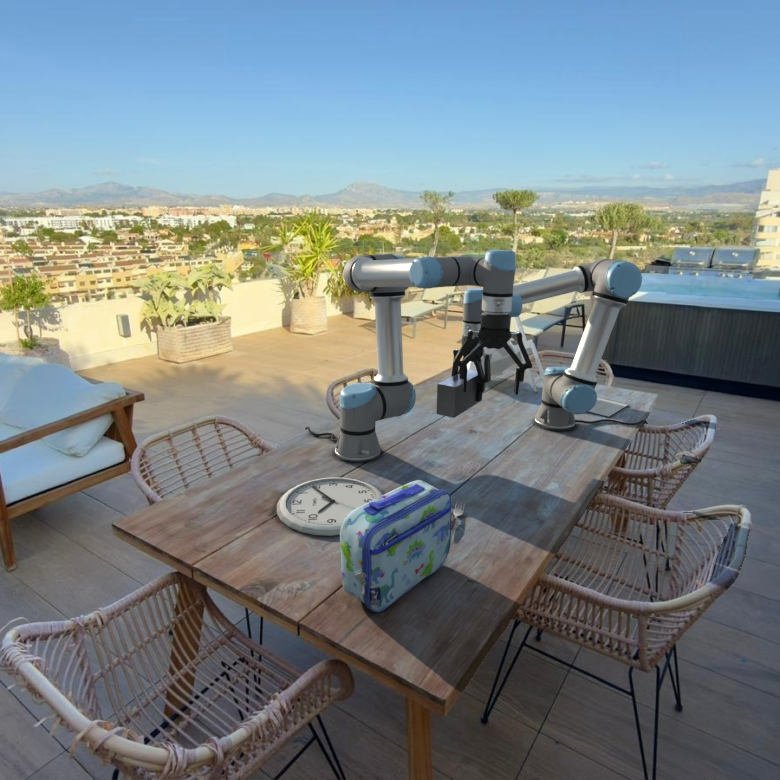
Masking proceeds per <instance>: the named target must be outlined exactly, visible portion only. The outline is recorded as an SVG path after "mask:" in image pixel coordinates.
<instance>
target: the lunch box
mask: <svg viewBox="0 0 780 780" xmlns="http://www.w3.org/2000/svg"><path fill="white" fill-rule="evenodd" d="M383 494H384V495H382V496H380V497H378V498H376V499H374V500H372V501H370V502H368V503H366V504H364V505H362V506H360V507H358V508H356V509H354V510H353V511H351V512H350V513H349V514H348V515H347V516H346V518H345V519H344V521H343V523H342V526H341V530H340V535H339V551H340V574H341V576H340V577H341V585H342V588H343V589H342V590H343V591H344V593H346V594H348V595H350V596H352V597H353V598H355V599H357V600H358V601H359V602H361V603H362V604H364V605H365V606H366V608H367V609H369V610H370V611H371V612H374V613H381V612H384V611H385V610H386V609H387V608H389V607H390V606H391V605H392V604H393V603H395V602H396V601H397V600H399V599H400V598H401V597H402V596H404V595H405V594H407V593H408V592H410V591H411V590H412V589H413V588H415V587H416V586H417V585H418V584H419V583H420V582H421V581H423V580H425V579H426V578H427V577H429V576H430V575H432V574H434V573H435V572H436V571H438V570H439V569H440V568H441V567H442V566H443V565H444V563H445V562H446V560H447V558H448V556H449V553H450V550H451V549H450V548H451V545H452V543H451V542H452V530H451V522H452V497H451V494H450V492H449V491H448V490H446V489H438V488H437V487H435V486H434V485H431V484H429V483H427V482H426V481H424V480H421V479H416V480H413V481H410V482H408V483H405V484H403V485H401V486H399V487H397V488H394V489H393V490H390V491H388V492H387V493H383Z"/></svg>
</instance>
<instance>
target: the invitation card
mask: <svg viewBox="0 0 780 780" xmlns="http://www.w3.org/2000/svg"><path fill="white" fill-rule="evenodd" d="M628 406H629V404H627V403H623V402H618V401H614V400H609V399H605V398H601V397H597V401H596V404H595V405H594V407H593V408H592V409H591V410H590V411H588V412H587V413H593V414H596V415H600V416H604V417H608V418H609V417H611V416H613V415H614V414H616V413H617V412H619V411H621V410H623V409H624V408H626V407H628Z"/></svg>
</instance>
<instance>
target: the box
mask: <svg viewBox="0 0 780 780" xmlns="http://www.w3.org/2000/svg"><path fill="white" fill-rule="evenodd" d="M463 382H464V379H460V373H458V374H456V375H454V376H452V375H451V376H450V377H449V378H446V379H444V380H442V381H440V382H439V383H437V387H436V389H437V390H436V415H439V416H443V417H448V418H453V419H455V418H457V417H458V416H460V415H461V414H463V413H464V412H466V411H467V410H470V409H471V408H472V407H474V406H476V405H477V404H478V403H481V402H482V401H483V399H482V400H481V401H479V402H477V388H478V383H480V381H479V377H478V374H477V371H473V370H467V385H466V392H463Z"/></svg>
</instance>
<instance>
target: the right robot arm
mask: <svg viewBox="0 0 780 780" xmlns="http://www.w3.org/2000/svg"><path fill="white" fill-rule="evenodd" d="M642 282H643V275H642V272H641V270H640V268H639V267H638V266H637V265H636V264H634V263H633V262H631V261H627V260H623V259H612V258H602V259H598V260H594V261H591V262H587V263H585V264H581V265H577V266H574V268H573V269H572V270H568V271H565V272H561V273H557V274H553V275H549V276H545V277H541V278H536V279H532V280H529V281H524V282H520V283H516V284H514V286H513V298H512V311H511V312H509V314H510V315H511V318H515V317H518V316H519V317H520V315H521V314H522V311H523V305H526V304H530V303H534V302H539V301H542V300H546V299H550V298H554V297H558V296H559V297H560V296H562V295H567V294H571V293H574V292H577V293H579V294H582V293H586V292H592V294H591V298H592V299H593V304H592V307H591V310H590V312H589V316H588V318H587V321H586V325H585V326H584V329H583V333H582V335H581V338H580V341H579V343H578V347H577V349H576V351H575V355H574V357H573V360H572V363H571V365H570V366H548V367H546V368H545V370H544V381H543V382H542V394H541V402H540V405H539V407H538V410H537V411H536V413H535V416H534V424H535V425H536V426H537V427H539V428H542V429H544V430H549V431H556V432H567V431H572V430H574V429H575V428H576V423H580V424H581V423H582V424H588V425H589V424H591V425H593V424H597V423H602V422H603V423H604V422H608V423H609V422H610V423H616V424H621V425H625V426H638V425H641V424H642V423H644V424H645V425H648V424H649V423H648V421H647V420H645V419H642V420H640V421H637V422H627V421H621V420H616V419H608V418H605V419H603V418H602V419H597V420H593V421H591V420H590V421H588V420H582V419H576V418H575V417H576V416H575V415H578V416H579V415H583V414H586V413H589V412H588V411H590V410H591V409H592V408H593V407H594V405H595V404H596V401H597V398H598V394H597V391H596V387H597V384H598V382H599V380H598V378H597V376H596V374H597V371H598V368H599V366H600V364H601V361H602V358H603V355H604V353H605V350H606V347H607V344H608V342H609V339H610V336H611V333H612V331H613V330H614V326H615V323H616V321H617V318H618V315H619V313H620V310H621V309H622V308H624V307H626V306H627V305H628V303H629V300H630V298H631V297H633V296H634V295H636V294H637V293H638V292H639V290H640V289H641V287H642V284H643V283H642ZM482 297H483V288H482V287H479V288H478V287H474V288H473V287H472V288H471V287H470V288H467V289H465V290H464V292H463V301H462V304H463V305H462V327H461V333H462V335H461V346H462V345H463V343H464V342H465V340H466V338H467V334H468V330H470V329H471V330H472V331H478V332H479V330H480V326H481V314H482V313H483V312H484V311H482ZM480 341H481V340H480V338H479V337H478V336H476V337H475V339H472V340H471V343H470V344H469V346H468V348H467V349H466V351H465V353H464V355H463V356H462V358H461V361H462V360H463V359H464V358H465V357H466V356H467V355H468V354H469V353H470V352H471V351H472V350H473V349H474V348H475V347H476V346H477V345H478V343H479V342H480ZM459 350H460V348H455V349H453V350H452V354H453V360H452V361H453V362H452V369H451V377H452V376H454V375H456V374H458V373H460V367H459V366H458V365H454V359H455V357H456V355H457V354H458V352H459ZM482 356H484V359H485V360H484V371H483V368H482V364H481V363H482V361H481V357H482ZM491 356H492V354H491V353H490V354H488V353H485V352H484V349H482V350H481V351H480V352H479V353H478V354H477V355H476V356H475V357H474V358H473V359H472V360H471V362H474V365H475V366H476V370H477V374H478V377H479V381H480V383H478V388H477V402H479V401H480V402H482V401H483V393H485V391H486V384H488V383H489V382H491V381H492V376H491V368H490V359H491ZM466 366H467V365H466ZM484 374H485V375H484ZM481 400H482V401H481ZM480 402H479V403H480Z"/></svg>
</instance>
